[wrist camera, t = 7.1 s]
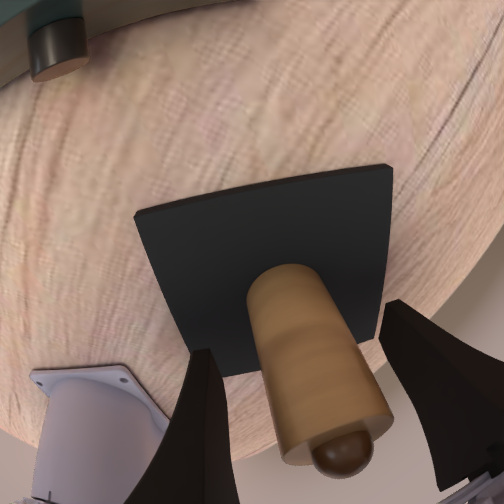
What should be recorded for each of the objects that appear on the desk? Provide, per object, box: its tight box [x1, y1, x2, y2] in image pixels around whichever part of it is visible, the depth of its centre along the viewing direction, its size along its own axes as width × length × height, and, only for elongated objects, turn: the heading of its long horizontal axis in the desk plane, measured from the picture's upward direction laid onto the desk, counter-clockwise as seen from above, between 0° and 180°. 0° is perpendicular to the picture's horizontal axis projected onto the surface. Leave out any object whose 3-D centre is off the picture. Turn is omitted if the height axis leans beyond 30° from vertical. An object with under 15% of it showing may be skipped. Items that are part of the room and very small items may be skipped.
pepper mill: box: [246, 264, 394, 479], centre depth 9 cm, size 3×3×8 cm
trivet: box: [134, 164, 393, 378], centre depth 13 cm, size 10×10×1 cm
